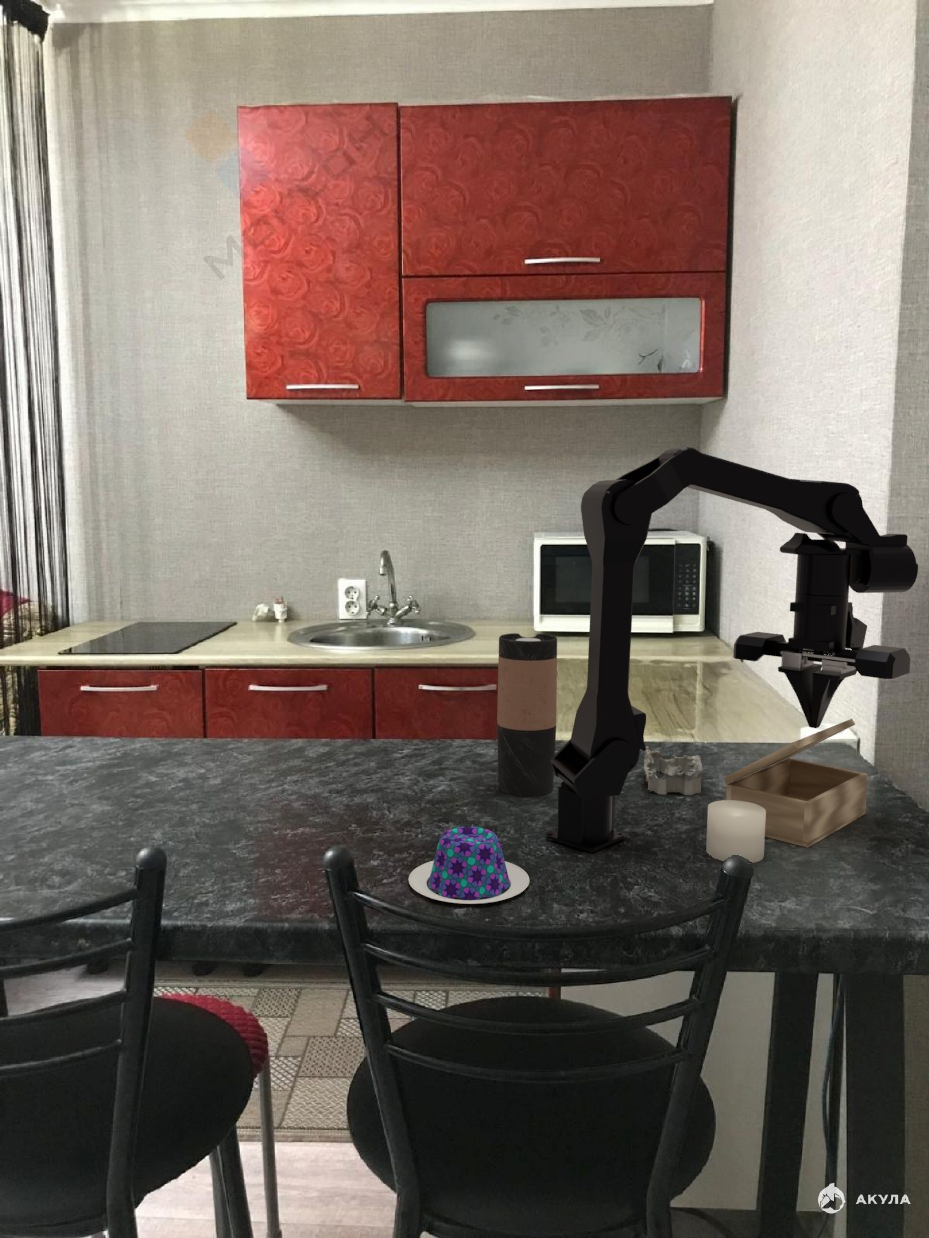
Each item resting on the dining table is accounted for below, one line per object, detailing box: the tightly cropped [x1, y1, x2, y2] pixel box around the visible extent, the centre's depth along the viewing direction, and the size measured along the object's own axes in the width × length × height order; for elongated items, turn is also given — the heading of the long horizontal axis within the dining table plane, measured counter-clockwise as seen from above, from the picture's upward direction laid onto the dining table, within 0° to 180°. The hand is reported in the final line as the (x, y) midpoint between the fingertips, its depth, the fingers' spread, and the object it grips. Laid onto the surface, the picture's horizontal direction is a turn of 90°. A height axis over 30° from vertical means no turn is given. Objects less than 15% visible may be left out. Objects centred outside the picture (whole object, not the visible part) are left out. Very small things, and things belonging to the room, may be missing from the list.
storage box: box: [725, 757, 869, 849], centre depth 117 cm, size 16×10×5 cm, turn 137°
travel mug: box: [496, 632, 558, 797], centre depth 128 cm, size 8×8×20 cm
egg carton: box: [643, 745, 704, 796], centre depth 132 cm, size 11×8×4 cm
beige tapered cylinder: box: [705, 799, 766, 864], centre depth 106 cm, size 6×6×5 cm
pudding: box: [408, 826, 530, 905], centre depth 98 cm, size 12×12×5 cm
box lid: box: [723, 718, 856, 785], centre depth 117 cm, size 16×10×1 cm
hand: (814, 727), depth 115 cm, fingers closed
